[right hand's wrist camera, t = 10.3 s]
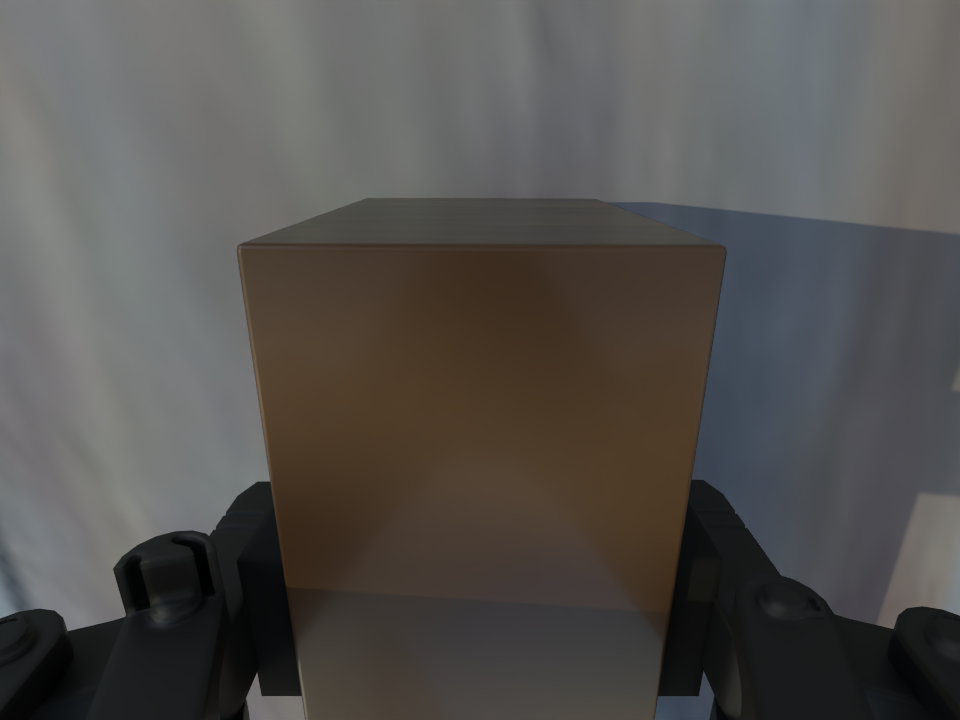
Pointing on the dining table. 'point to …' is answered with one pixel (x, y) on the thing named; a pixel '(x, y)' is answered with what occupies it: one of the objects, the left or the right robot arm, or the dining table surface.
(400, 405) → the post
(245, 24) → the dining table surface
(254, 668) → the right robot arm
